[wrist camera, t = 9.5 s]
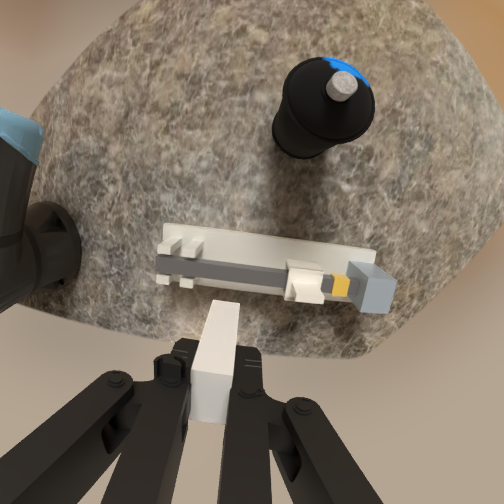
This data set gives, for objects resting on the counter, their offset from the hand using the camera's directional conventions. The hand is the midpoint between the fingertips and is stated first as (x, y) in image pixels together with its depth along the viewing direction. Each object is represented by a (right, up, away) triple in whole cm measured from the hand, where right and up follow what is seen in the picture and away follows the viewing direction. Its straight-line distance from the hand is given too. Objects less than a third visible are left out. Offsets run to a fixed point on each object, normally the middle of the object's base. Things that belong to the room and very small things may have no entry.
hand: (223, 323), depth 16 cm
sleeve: (+8, +1, +21) cm, 22 cm away
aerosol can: (+8, +21, +21) cm, 30 cm away
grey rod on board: (+4, +2, +25) cm, 25 cm away
